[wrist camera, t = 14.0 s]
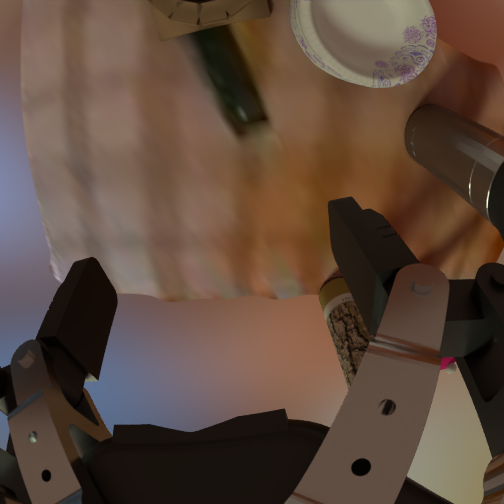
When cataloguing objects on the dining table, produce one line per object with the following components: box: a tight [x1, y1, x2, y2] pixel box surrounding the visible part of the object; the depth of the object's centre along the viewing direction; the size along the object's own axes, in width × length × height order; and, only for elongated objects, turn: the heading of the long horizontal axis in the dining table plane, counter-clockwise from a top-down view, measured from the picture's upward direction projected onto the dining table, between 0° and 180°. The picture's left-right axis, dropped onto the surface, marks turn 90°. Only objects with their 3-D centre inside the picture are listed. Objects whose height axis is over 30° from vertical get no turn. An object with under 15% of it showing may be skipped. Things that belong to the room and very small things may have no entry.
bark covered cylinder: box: [319, 278, 377, 389], centre depth 42 cm, size 7×7×25 cm
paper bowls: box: [289, 0, 437, 88], centre depth 24 cm, size 15×15×8 cm
